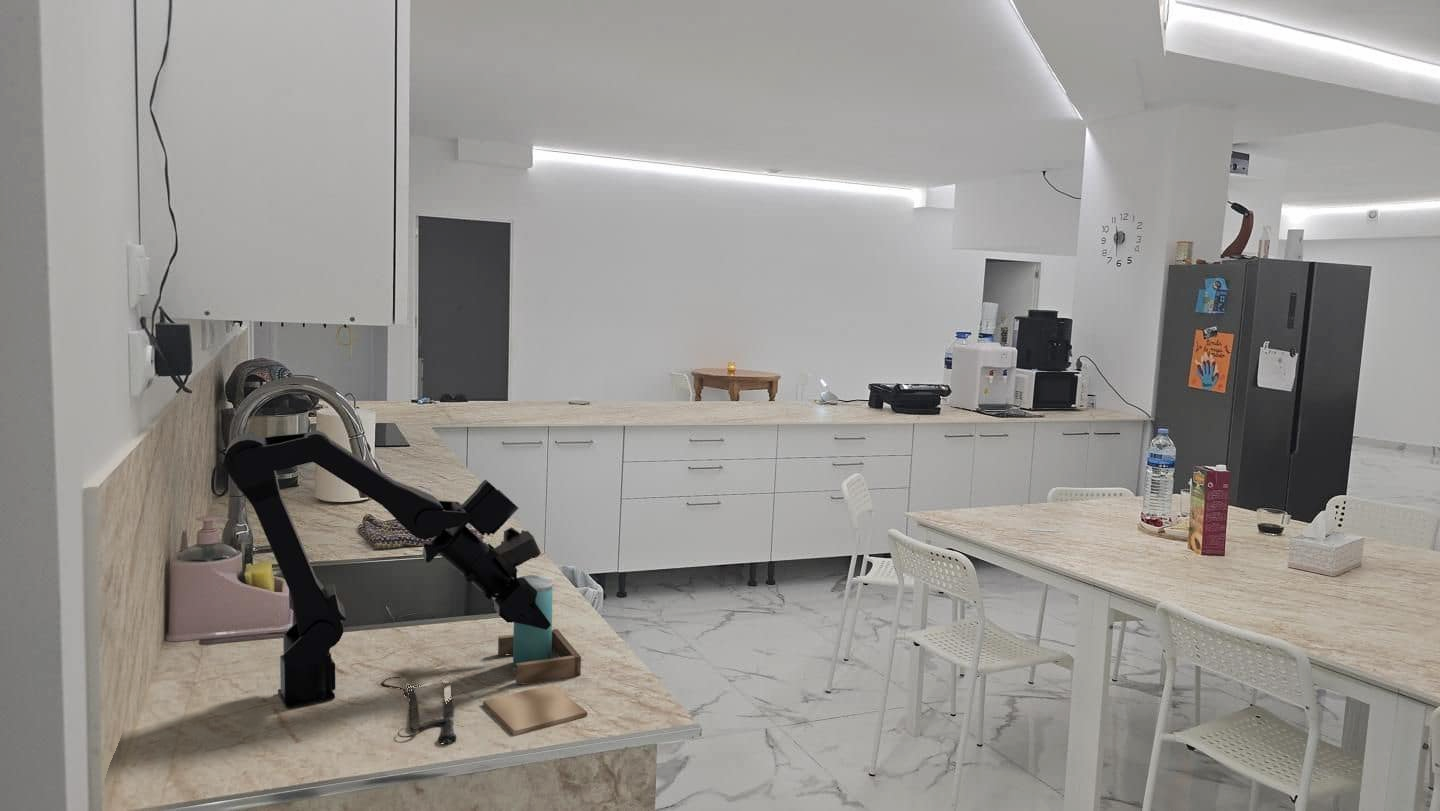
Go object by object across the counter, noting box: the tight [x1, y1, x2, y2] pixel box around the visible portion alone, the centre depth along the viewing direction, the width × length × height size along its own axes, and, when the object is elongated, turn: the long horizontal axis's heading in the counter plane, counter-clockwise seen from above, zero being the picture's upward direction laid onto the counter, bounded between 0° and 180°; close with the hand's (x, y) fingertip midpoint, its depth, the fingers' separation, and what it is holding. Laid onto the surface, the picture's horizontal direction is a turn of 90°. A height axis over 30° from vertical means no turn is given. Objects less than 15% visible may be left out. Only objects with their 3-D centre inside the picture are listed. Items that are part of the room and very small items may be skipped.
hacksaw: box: [380, 676, 457, 745], centre depth 130 cm, size 24×10×2 cm, turn 18°
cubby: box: [497, 628, 582, 685], centre depth 147 cm, size 10×13×3 cm
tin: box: [512, 574, 554, 670], centre depth 146 cm, size 6×6×14 cm
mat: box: [482, 684, 588, 736], centre depth 131 cm, size 11×11×1 cm
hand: (540, 617), depth 146 cm, fingers open, 9 cm apart
